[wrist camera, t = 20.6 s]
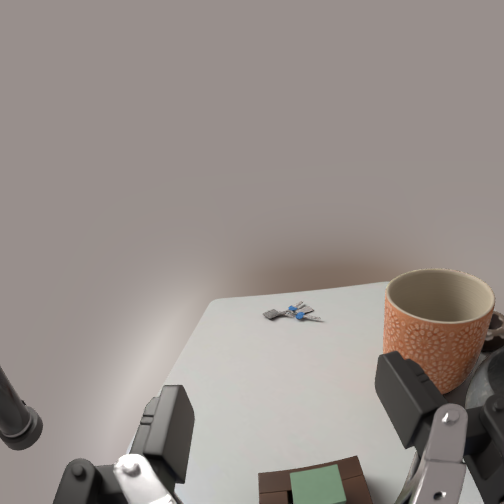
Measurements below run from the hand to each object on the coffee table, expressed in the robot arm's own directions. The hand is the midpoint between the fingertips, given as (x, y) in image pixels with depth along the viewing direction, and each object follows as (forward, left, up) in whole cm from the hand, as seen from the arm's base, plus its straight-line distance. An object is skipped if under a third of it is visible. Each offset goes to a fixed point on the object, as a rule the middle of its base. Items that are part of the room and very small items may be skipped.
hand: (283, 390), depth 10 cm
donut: (+45, +11, -25) cm, 52 cm away
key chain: (+18, +47, -24) cm, 56 cm away
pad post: (+2, +1, -24) cm, 24 cm away
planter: (+28, +13, -25) cm, 39 cm away
